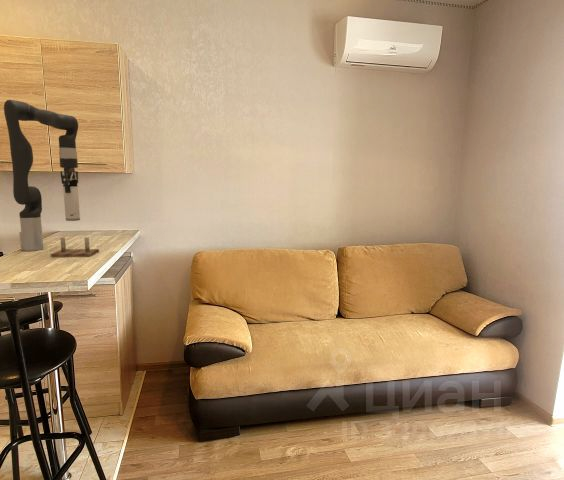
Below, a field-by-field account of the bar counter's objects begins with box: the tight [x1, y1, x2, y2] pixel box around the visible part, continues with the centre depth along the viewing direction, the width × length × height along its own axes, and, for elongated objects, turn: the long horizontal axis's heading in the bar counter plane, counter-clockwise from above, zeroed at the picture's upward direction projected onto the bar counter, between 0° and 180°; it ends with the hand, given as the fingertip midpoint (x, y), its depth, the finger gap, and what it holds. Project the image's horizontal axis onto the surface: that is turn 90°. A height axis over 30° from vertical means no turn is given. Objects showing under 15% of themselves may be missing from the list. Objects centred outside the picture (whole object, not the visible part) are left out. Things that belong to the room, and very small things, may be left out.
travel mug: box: [62, 180, 81, 222], centre depth 184 cm, size 6×7×20 cm
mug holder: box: [50, 236, 100, 258], centre depth 188 cm, size 18×12×8 cm, turn 97°
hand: (71, 192), depth 183 cm, fingers closed on travel mug, 6 cm apart
